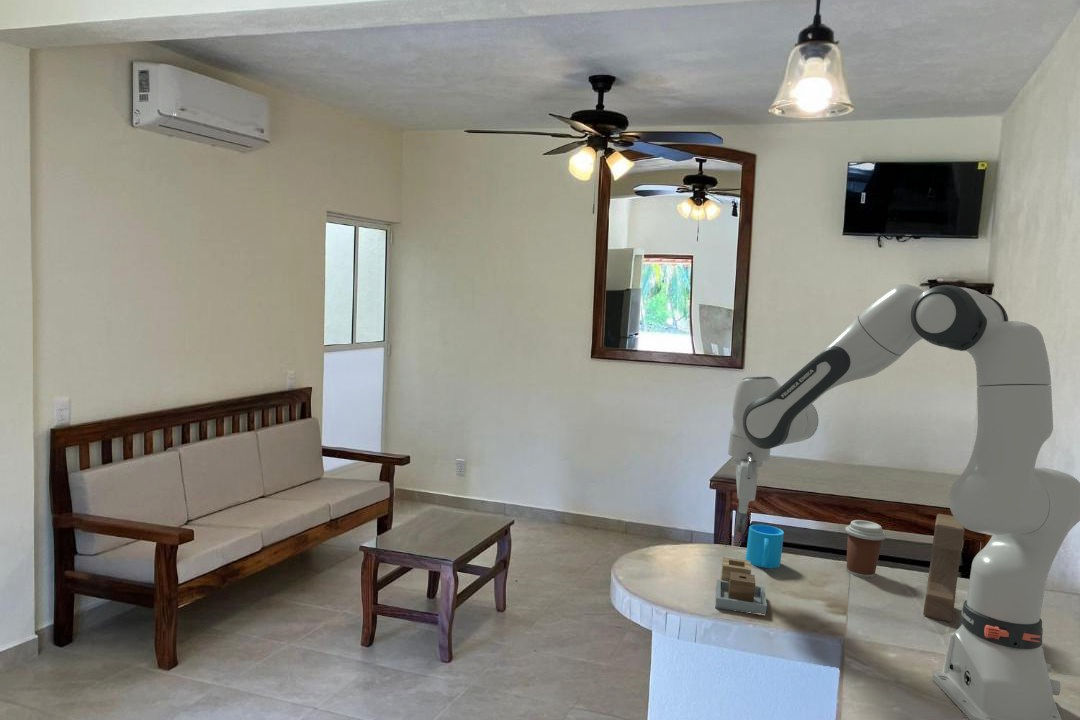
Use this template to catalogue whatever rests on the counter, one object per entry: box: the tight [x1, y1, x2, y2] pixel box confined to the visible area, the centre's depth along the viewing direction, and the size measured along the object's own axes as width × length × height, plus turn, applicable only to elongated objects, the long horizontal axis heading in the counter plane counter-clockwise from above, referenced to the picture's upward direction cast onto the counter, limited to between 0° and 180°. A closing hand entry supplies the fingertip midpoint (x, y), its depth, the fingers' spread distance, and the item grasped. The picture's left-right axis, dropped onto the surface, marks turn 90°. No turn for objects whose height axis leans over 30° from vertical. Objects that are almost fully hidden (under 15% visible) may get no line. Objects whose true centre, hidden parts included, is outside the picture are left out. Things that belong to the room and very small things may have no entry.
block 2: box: [728, 572, 756, 602], centre depth 173 cm, size 5×5×5 cm
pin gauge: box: [734, 499, 748, 533], centre depth 181 cm, size 2×2×9 cm
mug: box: [745, 524, 785, 569], centre depth 198 cm, size 12×8×8 cm
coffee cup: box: [844, 519, 887, 579], centre depth 198 cm, size 9×9×12 cm
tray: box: [714, 579, 768, 615], centre depth 173 cm, size 11×10×2 cm
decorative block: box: [922, 513, 966, 623], centre depth 176 cm, size 11×6×20 cm, turn 151°
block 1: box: [720, 556, 752, 581], centre depth 183 cm, size 6×6×5 cm
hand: (742, 510), depth 181 cm, fingers closed on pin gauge, 2 cm apart
